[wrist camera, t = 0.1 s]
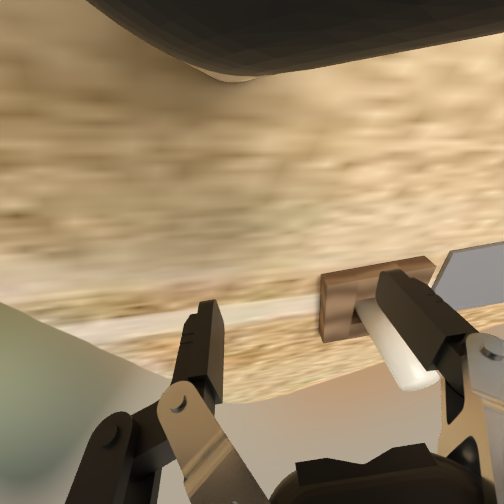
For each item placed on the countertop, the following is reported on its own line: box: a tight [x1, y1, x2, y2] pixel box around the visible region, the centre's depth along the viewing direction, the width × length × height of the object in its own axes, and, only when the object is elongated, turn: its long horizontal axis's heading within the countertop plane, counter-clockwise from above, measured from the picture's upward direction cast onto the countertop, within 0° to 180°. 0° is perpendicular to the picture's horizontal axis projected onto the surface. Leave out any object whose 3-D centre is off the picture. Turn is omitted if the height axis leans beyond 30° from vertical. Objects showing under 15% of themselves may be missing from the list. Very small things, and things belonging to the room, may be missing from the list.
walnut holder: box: [319, 256, 436, 343], centre depth 38 cm, size 16×16×2 cm
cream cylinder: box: [354, 297, 440, 391], centre depth 34 cm, size 5×5×14 cm
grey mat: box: [432, 242, 504, 311], centre depth 39 cm, size 16×16×1 cm
